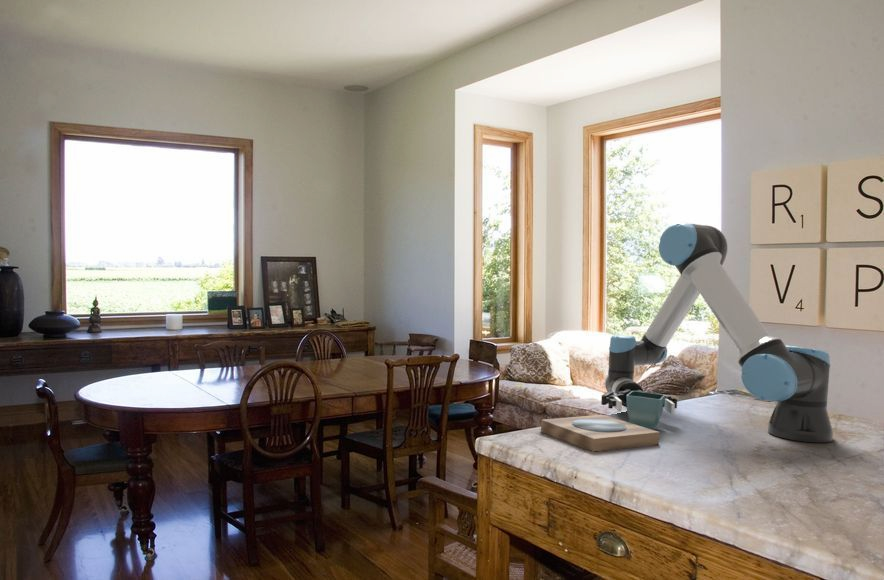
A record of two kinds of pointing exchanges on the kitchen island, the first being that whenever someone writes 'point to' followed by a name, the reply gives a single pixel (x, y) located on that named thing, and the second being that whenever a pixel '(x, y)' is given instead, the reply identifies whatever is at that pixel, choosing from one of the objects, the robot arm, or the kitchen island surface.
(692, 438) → the kitchen island surface
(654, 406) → the flower pot
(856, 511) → the kitchen island surface
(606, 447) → the walnut plinth
